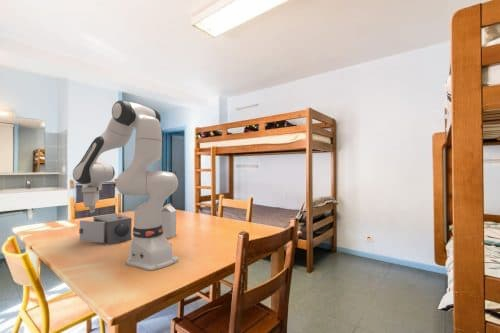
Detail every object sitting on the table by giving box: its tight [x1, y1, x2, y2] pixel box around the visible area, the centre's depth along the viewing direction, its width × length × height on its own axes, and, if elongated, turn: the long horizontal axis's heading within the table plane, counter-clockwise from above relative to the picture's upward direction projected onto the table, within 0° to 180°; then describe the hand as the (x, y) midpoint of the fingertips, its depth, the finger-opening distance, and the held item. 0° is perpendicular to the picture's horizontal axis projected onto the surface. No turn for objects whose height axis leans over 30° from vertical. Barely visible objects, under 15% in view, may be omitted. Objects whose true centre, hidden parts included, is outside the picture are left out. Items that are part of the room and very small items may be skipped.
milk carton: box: [161, 203, 177, 239], centre depth 137 cm, size 7×7×19 cm
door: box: [78, 220, 106, 244], centre depth 123 cm, size 16×2×11 cm, turn 77°
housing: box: [93, 213, 133, 246], centre depth 132 cm, size 22×12×13 cm, turn 52°
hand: (92, 212), depth 128 cm, fingers closed
